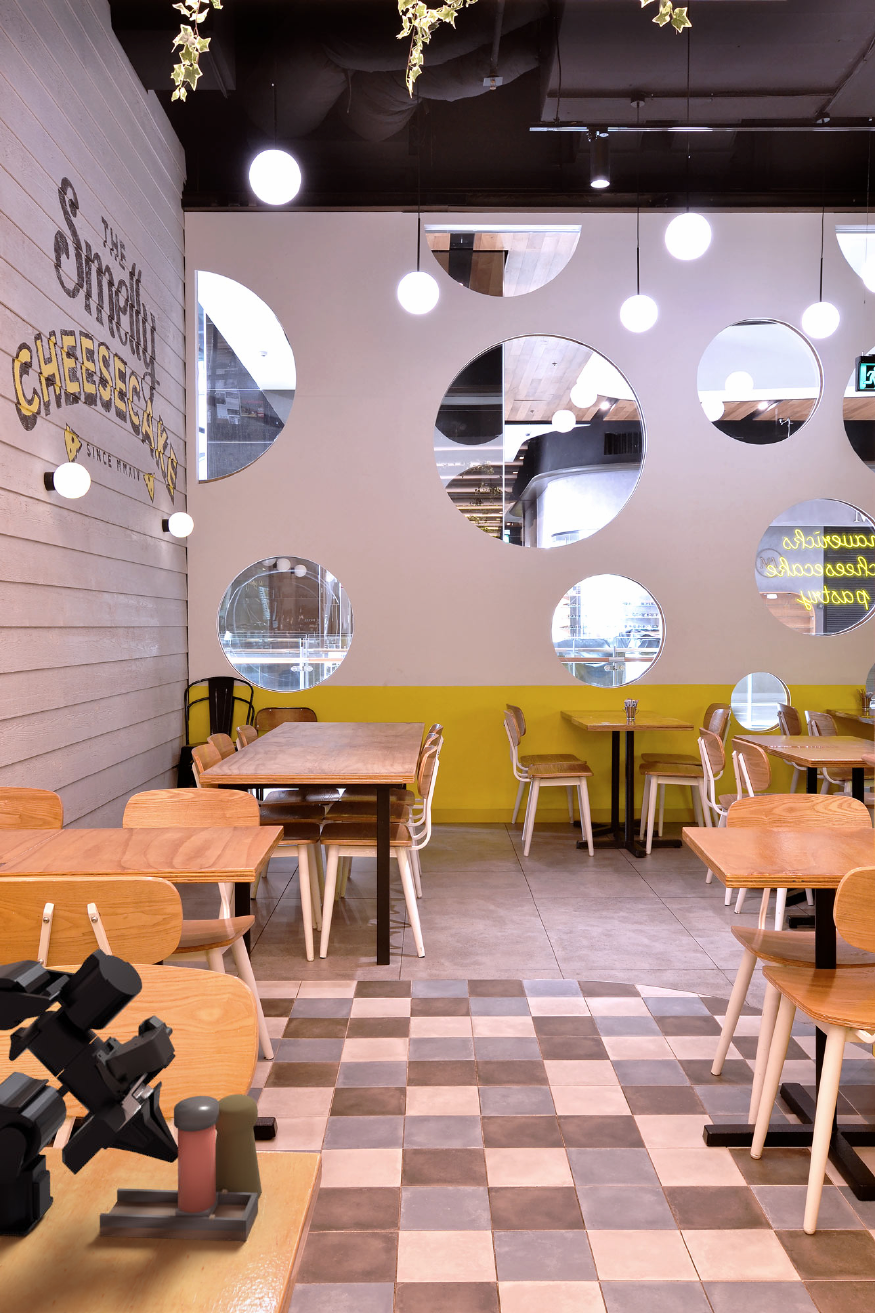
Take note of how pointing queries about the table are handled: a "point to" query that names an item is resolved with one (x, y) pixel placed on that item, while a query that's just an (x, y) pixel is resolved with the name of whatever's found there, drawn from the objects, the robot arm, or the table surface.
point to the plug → (196, 1155)
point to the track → (157, 1217)
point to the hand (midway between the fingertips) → (176, 1158)
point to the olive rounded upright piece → (237, 1146)
